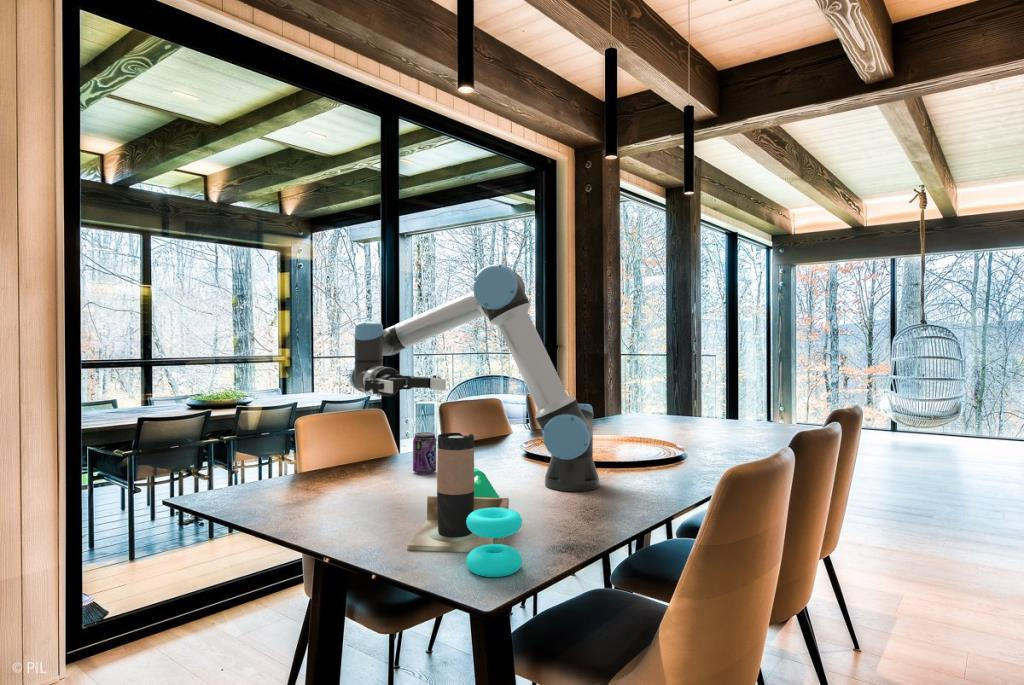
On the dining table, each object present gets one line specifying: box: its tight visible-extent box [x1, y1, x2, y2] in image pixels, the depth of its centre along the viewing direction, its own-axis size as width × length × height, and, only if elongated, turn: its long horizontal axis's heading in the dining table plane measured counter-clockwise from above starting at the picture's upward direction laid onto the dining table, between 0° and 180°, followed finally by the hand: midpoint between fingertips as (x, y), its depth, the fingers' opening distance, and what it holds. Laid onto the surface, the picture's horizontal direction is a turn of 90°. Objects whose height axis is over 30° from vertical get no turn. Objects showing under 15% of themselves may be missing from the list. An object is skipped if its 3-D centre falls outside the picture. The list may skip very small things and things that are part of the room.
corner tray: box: [406, 495, 510, 553], centre depth 128 cm, size 18×18×6 cm
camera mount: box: [474, 467, 500, 498], centre depth 149 cm, size 12×8×10 cm, turn 110°
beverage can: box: [412, 431, 437, 475], centre depth 190 cm, size 7×7×12 cm
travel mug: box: [436, 432, 475, 538], centre depth 127 cm, size 8×8×20 cm
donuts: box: [465, 507, 523, 578], centre depth 110 cm, size 10×10×10 cm
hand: (418, 386), depth 144 cm, fingers open, 13 cm apart
